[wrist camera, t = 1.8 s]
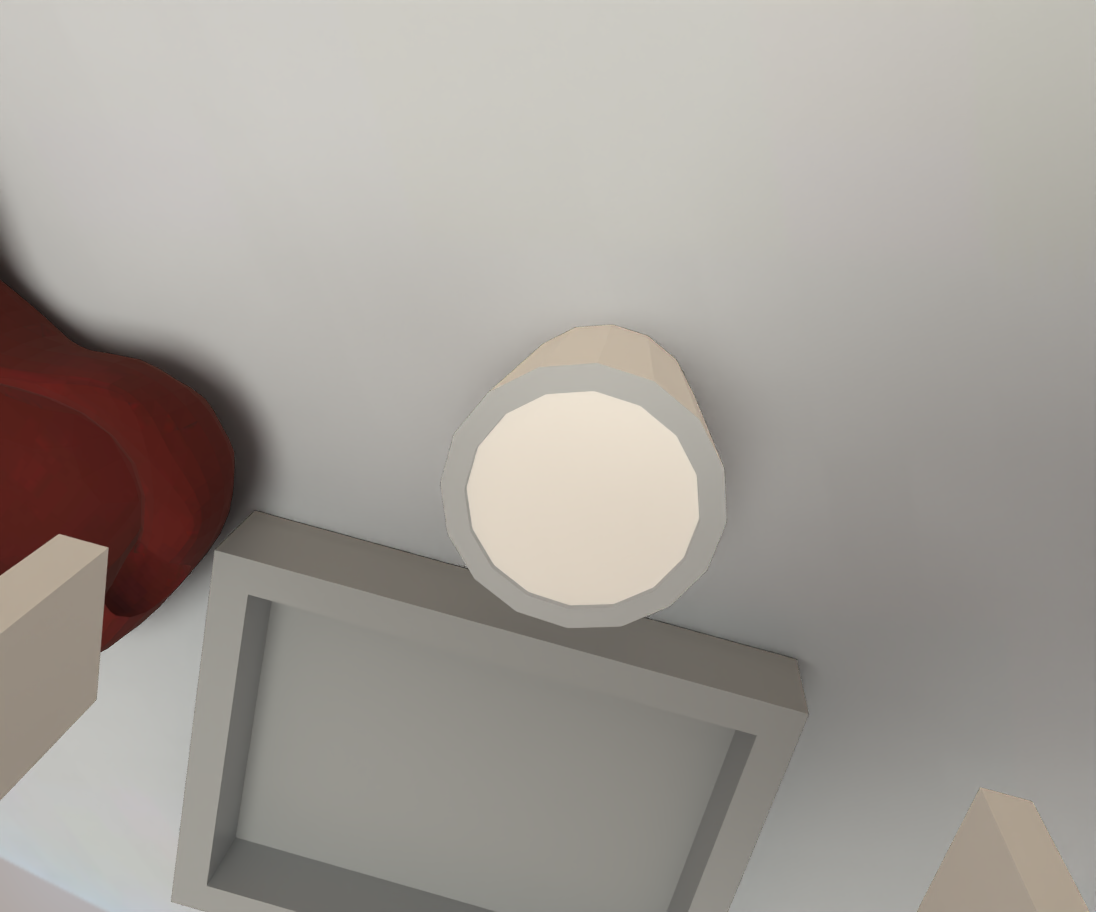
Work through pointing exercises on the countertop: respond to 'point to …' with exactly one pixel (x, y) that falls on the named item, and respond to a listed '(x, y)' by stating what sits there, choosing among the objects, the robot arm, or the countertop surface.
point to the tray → (462, 744)
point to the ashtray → (106, 463)
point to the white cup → (587, 482)
